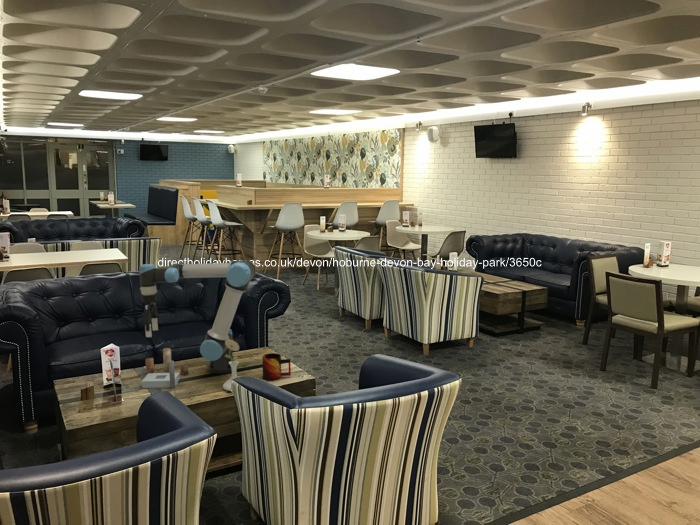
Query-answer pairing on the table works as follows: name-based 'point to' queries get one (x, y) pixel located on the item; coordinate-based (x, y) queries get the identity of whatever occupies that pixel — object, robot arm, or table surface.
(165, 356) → the long pin
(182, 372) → the short pin
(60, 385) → the table surface
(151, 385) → the hole plate
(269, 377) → the mug
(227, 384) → the flower in vase
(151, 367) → the medium pin
